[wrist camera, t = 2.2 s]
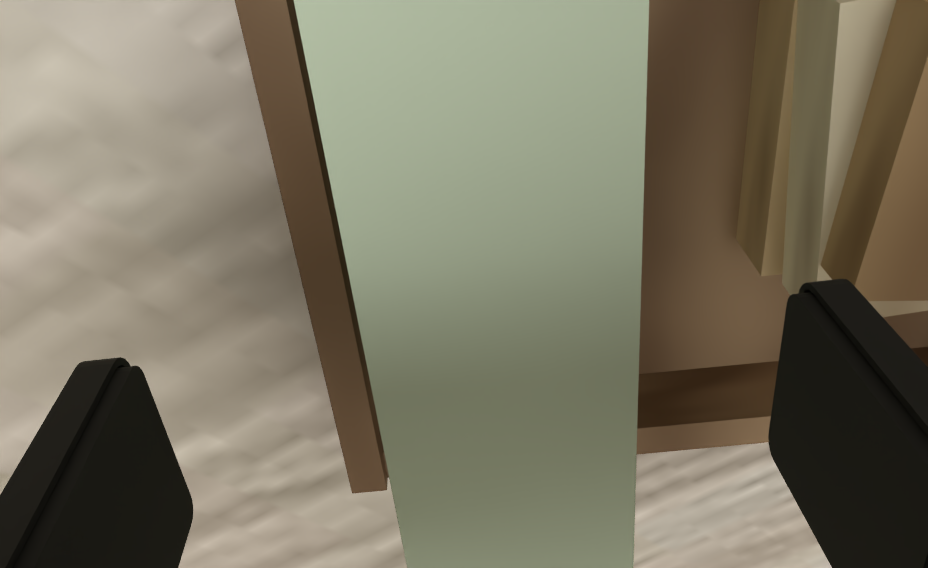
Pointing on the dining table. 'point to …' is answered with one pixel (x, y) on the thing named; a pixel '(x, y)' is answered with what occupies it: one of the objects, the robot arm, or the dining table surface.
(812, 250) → the offcut birch
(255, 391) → the dining table surface
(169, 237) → the dining table surface
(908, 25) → the offcut teak
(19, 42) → the dining table surface
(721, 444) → the wooden tray
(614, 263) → the pale green rectangular block
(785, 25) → the offcut oak
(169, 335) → the dining table surface
